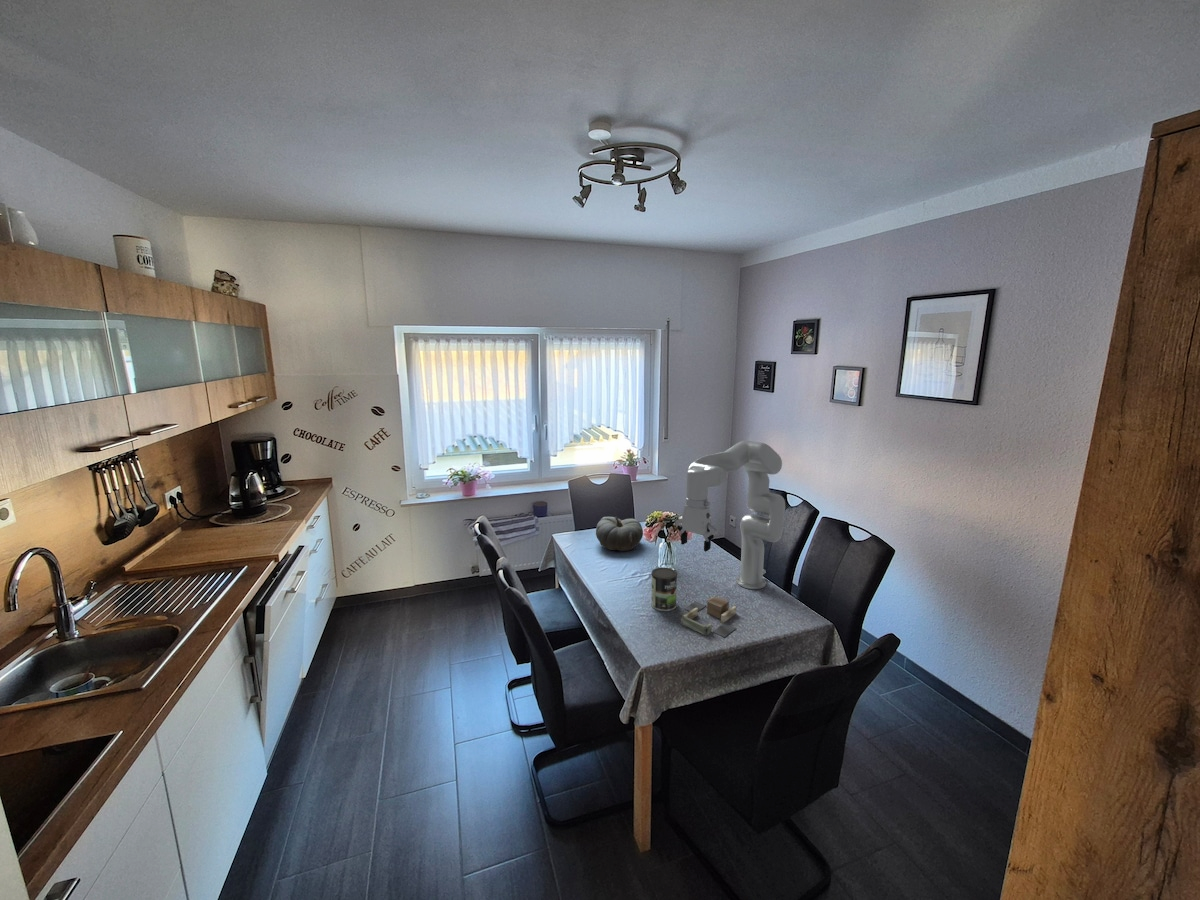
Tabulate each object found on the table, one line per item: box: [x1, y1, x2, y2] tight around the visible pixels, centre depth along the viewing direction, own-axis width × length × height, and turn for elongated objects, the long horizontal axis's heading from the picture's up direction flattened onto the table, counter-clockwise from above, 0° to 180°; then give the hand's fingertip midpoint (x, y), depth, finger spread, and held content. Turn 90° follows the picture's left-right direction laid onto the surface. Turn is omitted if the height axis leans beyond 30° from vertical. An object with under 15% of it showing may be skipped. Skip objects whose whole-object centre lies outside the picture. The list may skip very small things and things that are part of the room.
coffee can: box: [651, 567, 678, 612], centre depth 194 cm, size 10×10×14 cm
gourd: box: [595, 516, 644, 552], centre depth 254 cm, size 25×25×17 cm
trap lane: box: [680, 596, 737, 638], centre depth 184 cm, size 21×22×3 cm
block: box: [706, 596, 730, 620], centre depth 188 cm, size 6×6×5 cm
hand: (695, 546), depth 176 cm, fingers open, 9 cm apart
